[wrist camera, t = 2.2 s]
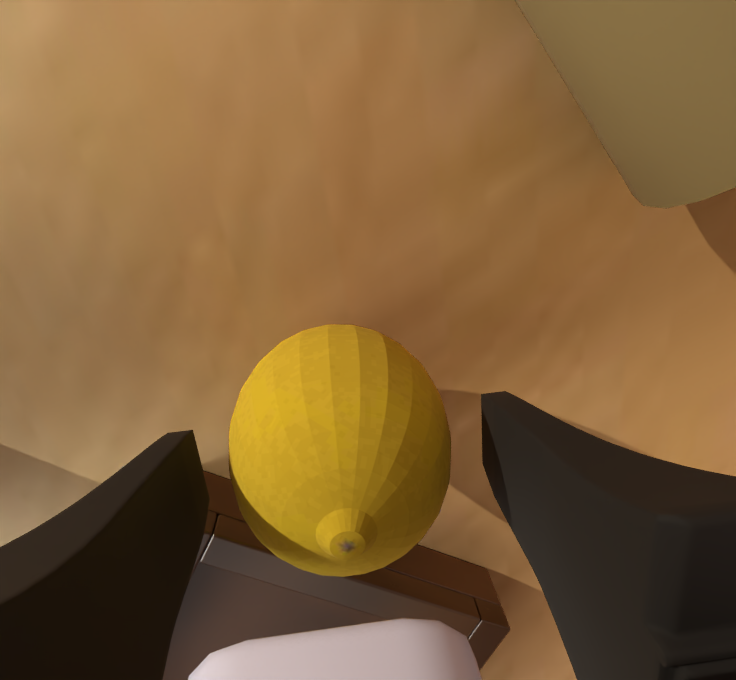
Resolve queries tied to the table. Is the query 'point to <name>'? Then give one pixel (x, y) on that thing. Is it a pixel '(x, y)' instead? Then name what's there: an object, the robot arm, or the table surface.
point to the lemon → (339, 450)
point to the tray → (316, 593)
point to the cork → (651, 87)
